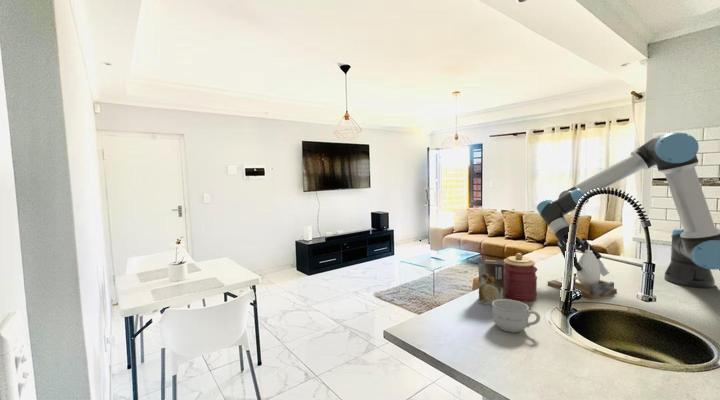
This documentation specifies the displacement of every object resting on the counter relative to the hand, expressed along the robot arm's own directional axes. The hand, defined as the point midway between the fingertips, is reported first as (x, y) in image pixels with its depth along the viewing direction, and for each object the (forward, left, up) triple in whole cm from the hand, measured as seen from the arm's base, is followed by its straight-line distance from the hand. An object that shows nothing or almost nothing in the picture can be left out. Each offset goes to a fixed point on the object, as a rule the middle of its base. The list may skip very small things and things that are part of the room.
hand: (596, 276), depth 128 cm
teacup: (+52, +9, -8) cm, 53 cm away
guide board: (0, -6, -7) cm, 10 cm away
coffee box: (+43, -11, -8) cm, 45 cm away
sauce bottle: (0, -3, -6) cm, 7 cm away
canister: (+29, -11, -8) cm, 32 cm away
